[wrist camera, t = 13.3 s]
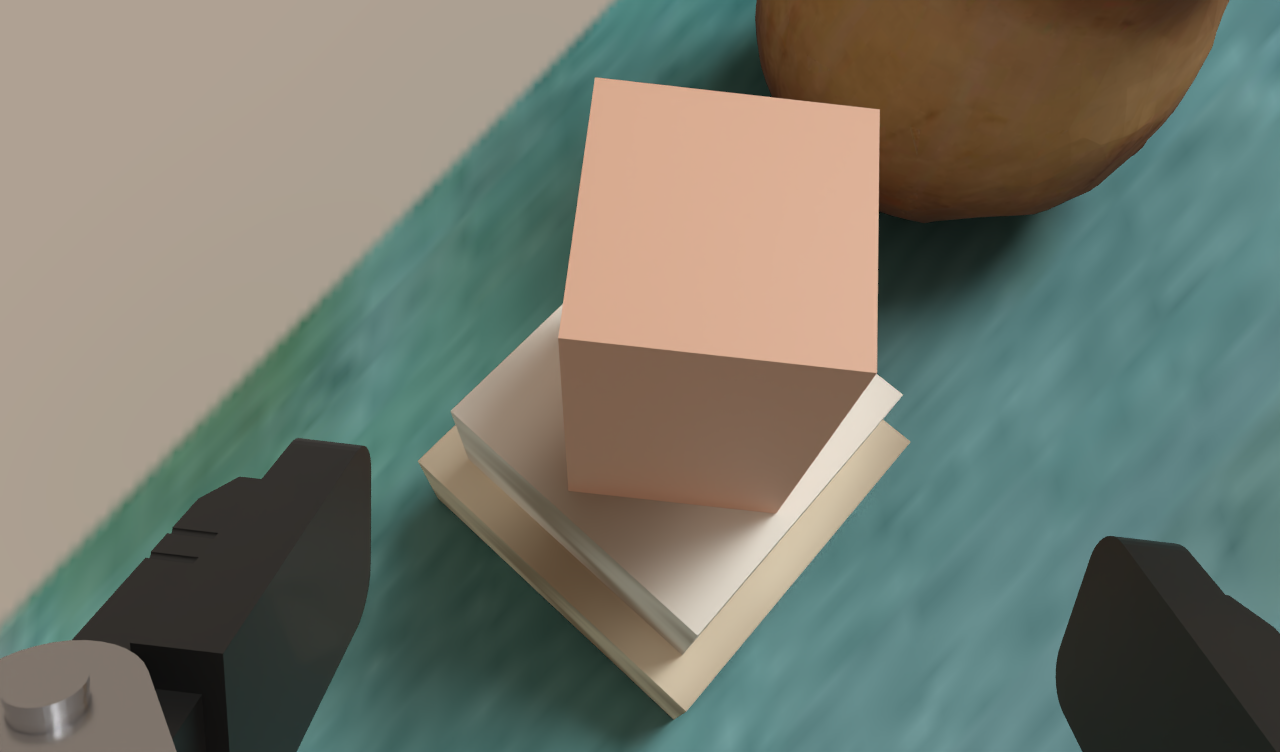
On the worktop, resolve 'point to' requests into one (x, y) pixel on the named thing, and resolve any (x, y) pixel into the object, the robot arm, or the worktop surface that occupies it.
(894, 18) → the butternut squash
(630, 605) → the beige stepped block
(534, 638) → the worktop surface
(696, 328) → the salmon pink rectangular block
